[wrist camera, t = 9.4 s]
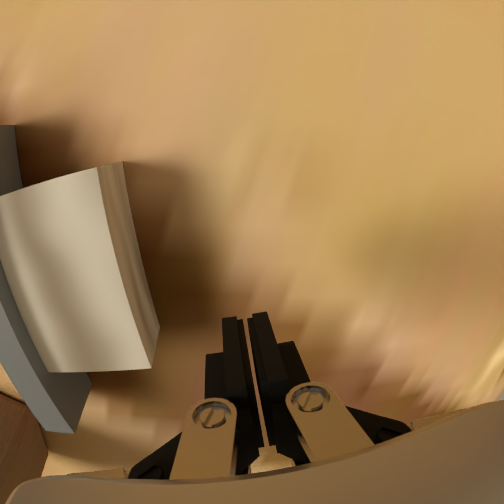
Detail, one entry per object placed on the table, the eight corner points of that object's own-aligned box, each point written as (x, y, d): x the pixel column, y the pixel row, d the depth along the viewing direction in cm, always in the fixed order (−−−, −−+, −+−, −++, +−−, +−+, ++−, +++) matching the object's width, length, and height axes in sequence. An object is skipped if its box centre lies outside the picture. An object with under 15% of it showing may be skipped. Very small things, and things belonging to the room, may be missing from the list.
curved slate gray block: (14, 125, 15) (-39, 125, 10) (92, 384, 23) (74, 433, 17) (-13, 138, 15) (-65, 143, 9) (65, 384, 23) (45, 431, 17)
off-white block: (123, 161, 18) (96, 167, 13) (160, 325, 22) (151, 368, 17) (26, 187, 17) (-15, 201, 12) (70, 333, 21) (48, 372, 17)
